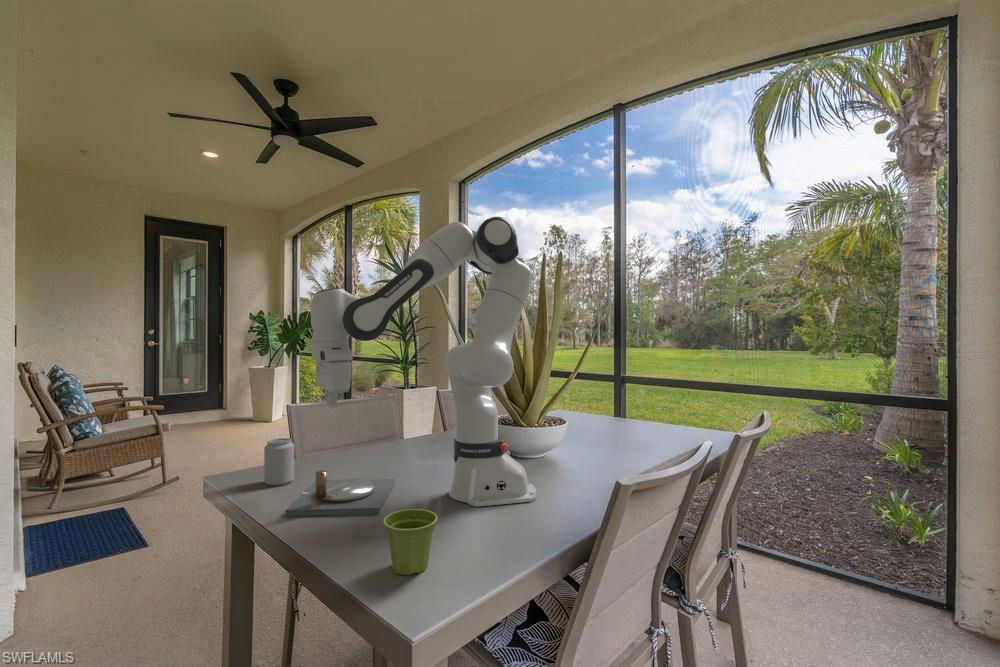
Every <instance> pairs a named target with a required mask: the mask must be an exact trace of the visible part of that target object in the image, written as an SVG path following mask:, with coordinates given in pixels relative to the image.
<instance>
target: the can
mask: <svg viewBox="0 0 1000 667" xmlns="http://www.w3.org/2000/svg"><path fill="white" fill-rule="evenodd" d="M263 448H264V449H263V450H264V457H263V458H264V459H263V460H264V462H263V463H264V465H263V468H264V469H263V473H264V475H263V476H264V478H263V479H264V483H265V484H266V485H267V486H269V487H281V486H280V485H282V486H285V484H286V485H288V484H287V483H289V482H290V483H291V482H293V481H294V479H295V444H294V443H293V442H292V439H291V438H289V437H281V438H280V437H279V438H273V439H269V440H267V441H266V445H264V446H263ZM290 483H289V484H290Z"/></svg>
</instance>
